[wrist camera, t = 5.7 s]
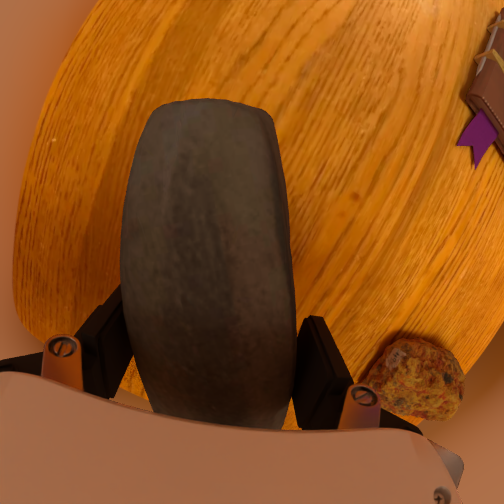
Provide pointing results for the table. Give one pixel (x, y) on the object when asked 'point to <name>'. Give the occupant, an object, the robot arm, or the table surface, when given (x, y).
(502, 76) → the book
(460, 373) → the rock
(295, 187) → the table surface
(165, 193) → the decorative stone
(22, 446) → the robot arm
